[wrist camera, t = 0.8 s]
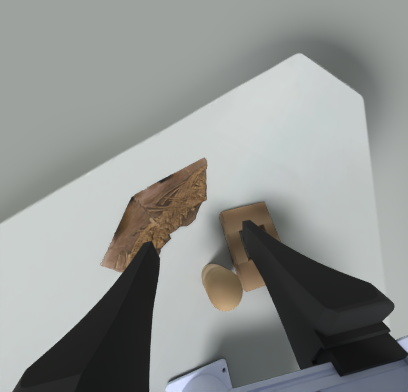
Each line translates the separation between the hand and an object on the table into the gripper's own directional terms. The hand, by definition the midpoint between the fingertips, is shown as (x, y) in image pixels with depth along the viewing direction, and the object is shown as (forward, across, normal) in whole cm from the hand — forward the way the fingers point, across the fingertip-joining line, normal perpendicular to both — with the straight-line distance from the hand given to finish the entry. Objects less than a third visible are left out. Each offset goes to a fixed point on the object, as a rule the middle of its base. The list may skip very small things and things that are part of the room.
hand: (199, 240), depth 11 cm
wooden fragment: (+15, +5, +5) cm, 17 cm away
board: (+9, -8, +12) cm, 17 cm away
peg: (+6, 0, +14) cm, 15 cm away
